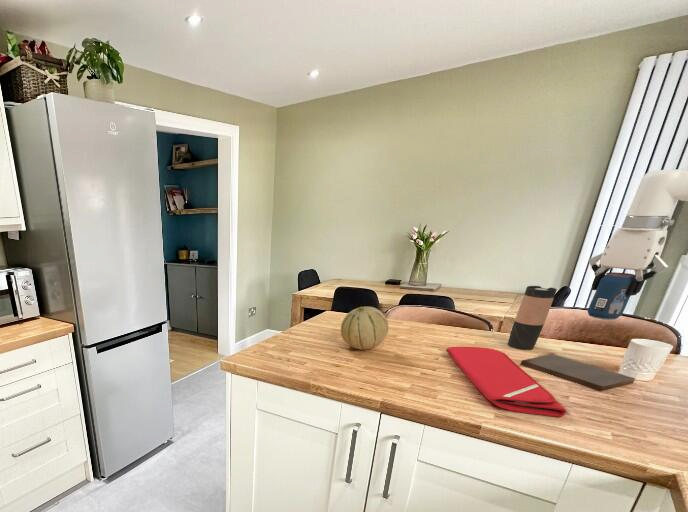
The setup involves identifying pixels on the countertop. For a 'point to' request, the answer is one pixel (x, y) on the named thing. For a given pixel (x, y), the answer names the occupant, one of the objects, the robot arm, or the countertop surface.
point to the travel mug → (531, 317)
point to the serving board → (578, 372)
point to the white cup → (644, 358)
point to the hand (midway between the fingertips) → (613, 291)
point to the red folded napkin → (504, 381)
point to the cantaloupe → (364, 328)
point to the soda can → (611, 296)
